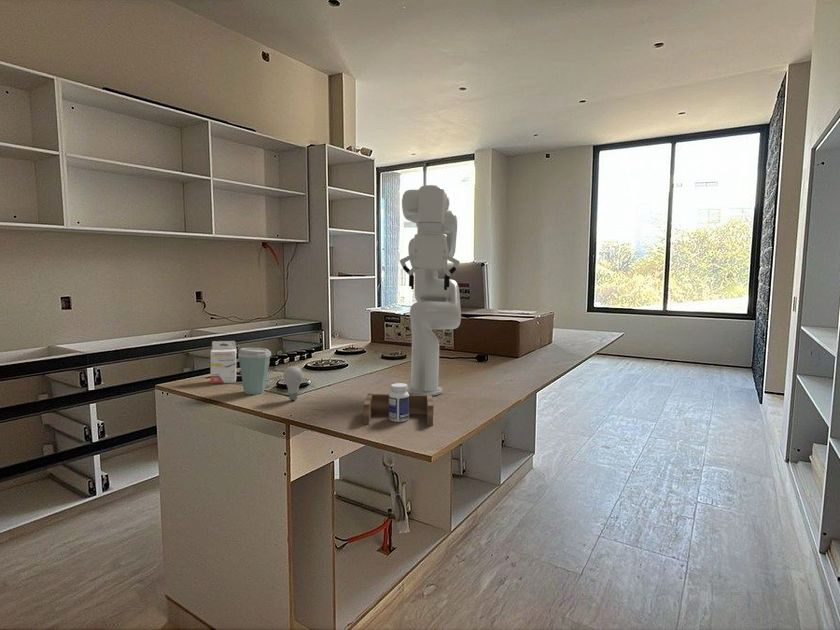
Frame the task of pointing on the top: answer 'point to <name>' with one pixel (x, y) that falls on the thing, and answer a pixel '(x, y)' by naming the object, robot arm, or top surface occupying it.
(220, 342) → the ink cartridge box
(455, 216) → the robot arm
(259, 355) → the disposable coffee cup
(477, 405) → the top surface
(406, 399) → the pill bottle
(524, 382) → the top surface
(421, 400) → the open wooden frame
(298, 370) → the lightbulb
